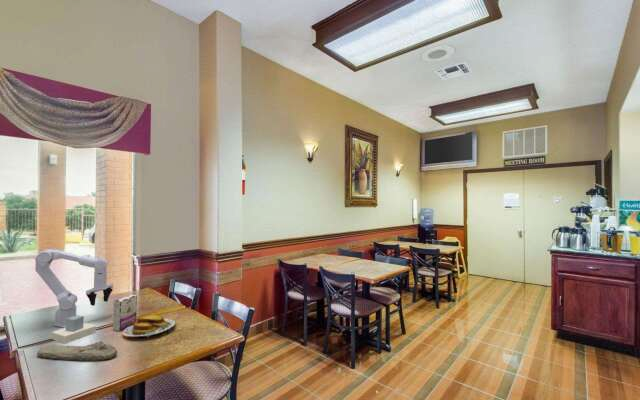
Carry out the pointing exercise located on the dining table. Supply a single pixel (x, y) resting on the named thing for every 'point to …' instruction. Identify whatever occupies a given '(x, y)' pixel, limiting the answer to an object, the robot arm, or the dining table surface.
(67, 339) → the cream box
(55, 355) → the long grey stone
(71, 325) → the slate block
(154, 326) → the food on plate
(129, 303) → the candy bar box
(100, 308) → the dining table surface
